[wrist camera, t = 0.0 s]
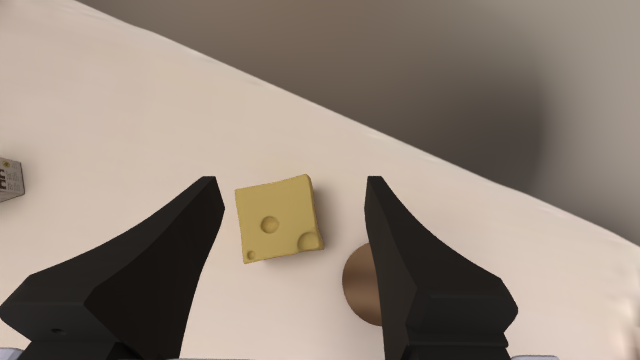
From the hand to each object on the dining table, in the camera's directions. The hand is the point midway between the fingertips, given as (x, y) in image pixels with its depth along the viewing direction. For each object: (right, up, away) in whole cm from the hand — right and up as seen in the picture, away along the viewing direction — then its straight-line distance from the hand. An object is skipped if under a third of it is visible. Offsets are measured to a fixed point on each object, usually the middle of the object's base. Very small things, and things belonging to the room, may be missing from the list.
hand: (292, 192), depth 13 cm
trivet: (+11, -15, +30) cm, 35 cm away
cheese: (-4, -6, +32) cm, 33 cm away
